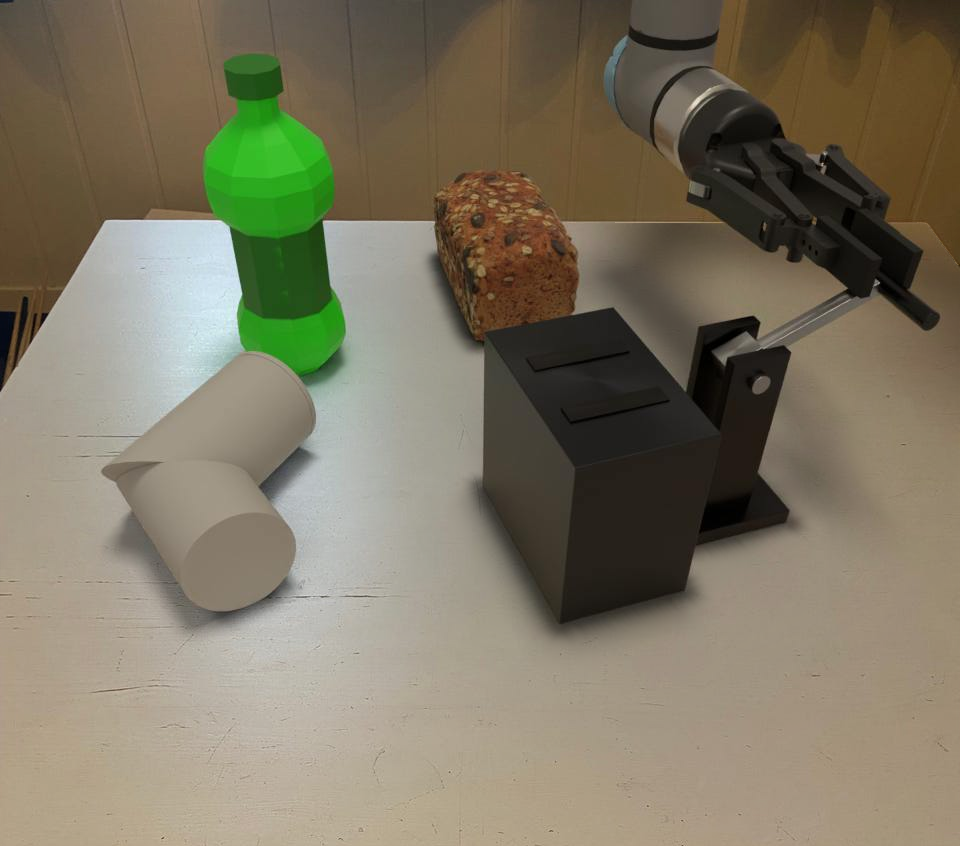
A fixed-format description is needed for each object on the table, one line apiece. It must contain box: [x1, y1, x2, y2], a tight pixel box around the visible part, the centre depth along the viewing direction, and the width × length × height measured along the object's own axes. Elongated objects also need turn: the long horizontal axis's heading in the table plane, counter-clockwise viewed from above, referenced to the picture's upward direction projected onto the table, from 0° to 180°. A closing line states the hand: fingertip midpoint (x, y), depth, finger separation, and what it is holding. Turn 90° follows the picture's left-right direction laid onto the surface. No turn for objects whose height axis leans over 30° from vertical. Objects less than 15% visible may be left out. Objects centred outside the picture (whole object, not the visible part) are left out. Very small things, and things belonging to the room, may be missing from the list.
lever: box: [711, 267, 941, 381], centre depth 68 cm, size 13×11×2 cm
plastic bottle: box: [202, 53, 347, 377], centre depth 81 cm, size 10×10×25 cm
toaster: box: [482, 306, 722, 624], centre depth 70 cm, size 10×16×14 cm, turn 20°
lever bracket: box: [685, 314, 792, 546], centre depth 72 cm, size 10×8×15 cm
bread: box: [432, 169, 580, 342], centre depth 95 cm, size 19×11×10 cm, turn 12°
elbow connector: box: [100, 351, 317, 612], centre depth 73 cm, size 18×10×20 cm
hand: (891, 274), depth 65 cm, fingers closed on lever, 2 cm apart
